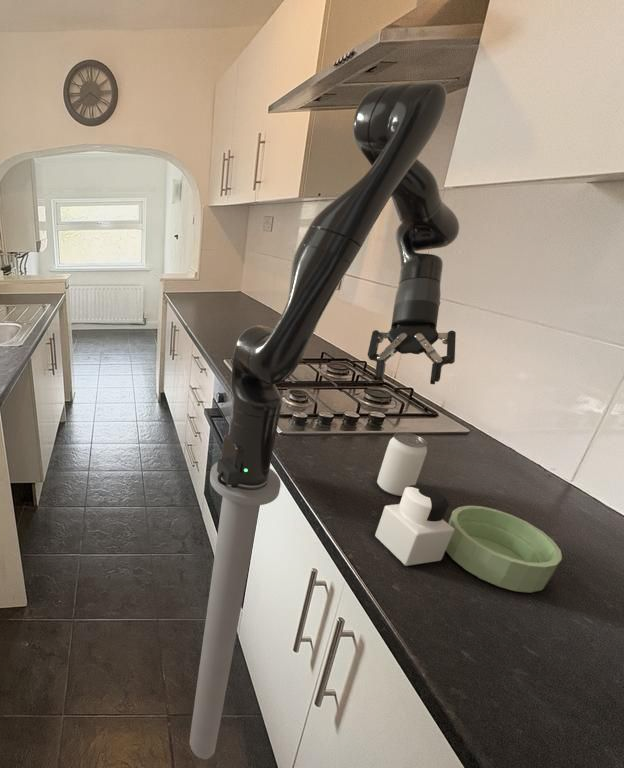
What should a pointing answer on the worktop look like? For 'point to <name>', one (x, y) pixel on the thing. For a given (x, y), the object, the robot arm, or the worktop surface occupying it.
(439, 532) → the medicine bottle
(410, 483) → the can
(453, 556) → the shallow round dish
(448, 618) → the worktop surface
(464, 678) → the worktop surface
